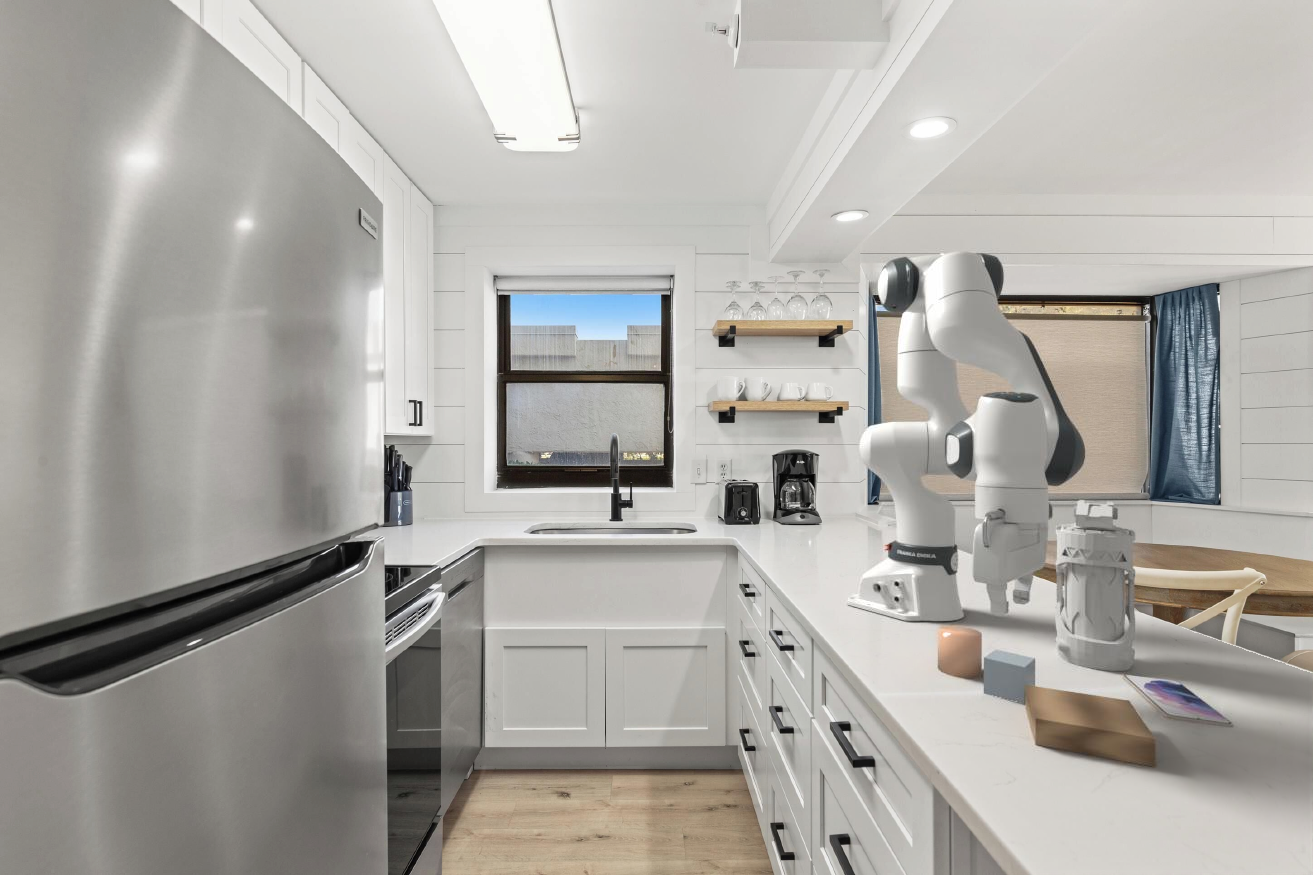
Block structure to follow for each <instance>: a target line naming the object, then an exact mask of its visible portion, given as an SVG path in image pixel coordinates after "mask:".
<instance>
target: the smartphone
mask: <svg viewBox="0 0 1313 875" xmlns="http://www.w3.org/2000/svg"><path fill="white" fill-rule="evenodd" d="M1122 679H1123V680H1124V681H1125V682H1126V683H1127V684H1128V685H1129V686H1131V688H1132V689H1134V690H1135V691H1136V692H1137V693H1138V694H1139V695H1140V696H1141V697H1142V698H1143V699H1145V700H1146V701H1147V702H1148V703H1149V704H1150V706H1152V707H1153V708H1154V709H1155V710H1156V711H1157V712H1159V714H1160V715H1161V716H1163V717H1164V718H1166V719H1168V720H1171V719H1172V720H1171V721H1180V722H1187V723H1193V724H1194V723H1196V724H1202V725H1203V724H1204V725H1211V726H1218V727H1227V728H1233V727H1234V724H1233V722H1231V721H1230V720H1229V719H1228V718H1226V717H1225V716H1224V715H1222V714H1221V713H1220V712H1218V710H1216V709H1214V708H1213V707H1212V706H1211V705H1210V704H1209V703H1207V702H1206V701H1204V699H1202V698H1201V697H1199V696H1198V695H1197V694H1195V693H1194V692H1193V691H1192V690H1190V689H1189V688H1187V687H1186V686H1185V685H1184V684H1182V683H1181V682H1180V681H1178V680H1171V679H1167V678H1166V679H1165V678H1164V679H1163V678H1156V677H1149V676H1140V675H1132V674H1123V675H1122Z"/></svg>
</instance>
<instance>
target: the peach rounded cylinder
mask: <svg viewBox="0 0 1313 875" xmlns="http://www.w3.org/2000/svg"><path fill="white" fill-rule="evenodd" d="M982 645H983V634H982V632H981V631H979V630H977V629H974V628H971V627H968V626H967V627H966V626H961V625H940V626H939V627H938V628H937V669H938V671H939V672H941V673H943V674H945V675H948V676H951V677H956V678H961V679H962V678H963V679H977V678H980V677H982V674H983V671H982V669H983V661H982V660H983V650H982V649H983V648H982V647H983V646H982Z"/></svg>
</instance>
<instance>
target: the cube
mask: <svg viewBox="0 0 1313 875" xmlns="http://www.w3.org/2000/svg"><path fill="white" fill-rule="evenodd" d="M1025 685H1030V686H1036V658H1035V657H1030V656H1027V655H1022V654H1018V653H1012V652H1008V651H1006V650H1005V651H1004V650H1000V649H994V650H993V651H991V652H990V653H988V654H987V655H986V656H984V657H983V694H984V695H988V696H992V695H993V696H992V697H995V696H997V697H996V698H999V697H1001V698H1000V699H1003V698H1005V699H1004V700H1006V699H1008V701H1010V700H1013V701H1017V702H1020V703H1019V704H1021V703H1024V704H1023V705H1025ZM1013 701H1012V702H1013ZM1017 702H1016V703H1017Z"/></svg>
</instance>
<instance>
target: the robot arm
mask: <svg viewBox="0 0 1313 875" xmlns="http://www.w3.org/2000/svg"><path fill="white" fill-rule="evenodd" d="M1004 279H1005V273H1004V267H1003V265H1002V262H1001V261H1000V260H999V258H998V257H997V256H996V255H992V254H988V253H983V252H981V253H980V252H976V253H972V252H970V251H963V250H958V251H952V252H951V251H950V252H945V253H944V252H941V253H939V254H928V255H919V256H914V257H907V256H903V257H897V258H894V259H892V260H889V261H888V262H887V263H886V264H885V265H884V266H883V268H882V270H881V273H880V275H879V278H878V281H877V293H878V297H879V300H880V304H881V306H882V307H883V308H884V309H885V310H886V311H887V312H889V313H895V314H902V316H901V320H900V325H899V330H898V339H897V368H896V369H897V372H896V375H897V376H896V377H897V381H896V383H897V390H898V392H899V395H900V396H901V397H903V398H904V399H906V400H907V401H909V402H910V403H912V404H915V405H917V406H919V407H921V408H924V409H925V410H927V412H928V414H929V419H928V420H926V421H890V422H884V423H883V422H882V423H877V424H874V425H873V424H872V425H869V426H868V427H867V428H866V430H865V431H864V432H863V433H862V436H861V438H860V439H859V440H860V441H859V446H858V447H859V450H858V451H859V456H860V458H861V461H862V463H863V464H864V465H865V467H866V468H867V469H868V470H870V471H871V472H872V473H874V474H875V475H876V476H877V477H878V478H879V479H880V480H881V481H882V482H883V484H885V486H886V488H887V490H888V491H889V493H890V495H891V497H892V498H891V499H892V501H893V506H894V512H895V526H896V527H895V529H896V532H895V533H896V539H895V540H894V541H891V542H889V543H888V544H885V545H884V547H885V548H884V551H887V553H888V554H887V557H886V558H884V559H883V560H882V561H880V562H879V563H877V564H876V565H874V566H872V567H871V568H870V569H869V570H867V571H865V572H864V573H863V574H862V575H861V578H860V582H859V584H858V589H857V591H858V592H856V593H853V594H852V595H849V596H848V598H847V599H846V603H847V606H851V607H855V608H858V609H861V610H865V611H869V612H873V613H876V614H880V615H883V616H887V617H891V618H895V619H898V620H901V621H905V622H906V621H907V622H919V621H920V622H921V621H926V622H930V621H931V622H948V621H949V622H950V621H958V620H961V619H962V618H964V617H965V614H964V611H963V608H962V603H961V599H960V594H959V587H958V580H957V573H958V568H959V553H958V552H959V551H958V545H957V544H956V509H955V507H954V505H953V503H952V502H951V500H948V499H947V498H946V497H945V496H942V495H941V494H939V493H937V492H935V491H933V490H931V489H928V488H927V487H925V485H924V484H923V482H922V477H924V476H956V477H958V478H959V479H961V480H962V479H963V480H967V481H972V482H975V484H974V518H975V519H976V520H979V521H982V522H981V523H978V524H977V525H976V527H975V529H974V533H973V543H972V555H971V556H972V558H971V559H972V560H971V574H972V577H973V580H974V582H976V583H980V584H986V585H985V586H986V587H985V588H986V592H987V594H988V595H987V596H988V598H989V601H990V602H989V603H990V609H989V610H990V613H991V614H992V615H994V616H999V617H1004V616H1006V615H1008V613H1009V612H1010V611H1009V609H1010V608H1009V607H1010V606H1009V605H1010V604H1009V603H1010V602H1009V601H1007V600H1008V599H1007V590H1008V583H1010V582H1013V581H1014V587H1013V588H1014V589H1013V590H1012V601H1013V603H1014V604H1017V605H1018V604H1019V605H1024V606H1025V605H1027V604H1029V603H1030V600H1031V597H1030V596H1031V588H1032V586H1033V585H1032V584H1033V579H1034V572H1036V571H1039V570H1041V569H1043V568H1044V566H1045V563H1046V559H1047V553H1048V540H1049V520H1052V519H1053V515H1054V508H1053V505H1052V503H1051V502H1050V500H1049V486H1050V487H1052V486H1053V487H1059V486H1061V485H1063V484H1065V483H1066V482H1067V481H1069V480H1070V479H1072V478H1073V477H1074V476H1076V474H1077V473H1078V472H1079V471H1080V470H1081V469H1082V467H1083V466H1084V464H1085V459H1086V447H1085V443H1084V440H1083V437H1082V435H1081V433H1080V432H1079V430H1078V428H1077V427H1076V426H1075V425H1074V423H1073V421H1072V420H1071V419H1070V417H1069V415H1068V413H1067V412H1066V411H1065V408H1064V407H1063V404H1062V403H1061V400H1060V398H1059V396H1058V393H1057V391H1056V389H1055V386H1054V384H1053V382H1052V380H1051V378H1050V376H1049V374H1048V372H1047V369H1046V367H1045V365H1044V362H1043V361H1042V359H1041V357H1040V354H1039V353H1038V351H1037V349H1036V347H1035V345H1034V343H1033V342H1032V340H1031V338H1030V337H1029V336H1028V335H1027V334H1025V333H1024V332H1022V331H1020V330H1018V329H1017V327H1015V326H1013V324H1012V323H1011V322H1010V321H1009V320H1008V319H1007V317H1006V316H1005V314H1004V313H1003V312H1002V310H1001V307H1000V306H999V305H1000V304H999V302H998V300H999V298H1000V296H1001V294H1002V291H1003V286H1004V281H1005V280H1004ZM957 363H960V364H964V365H969V366H973V367H975V368H980V369H982V370H985V371H988V372H990V373H993V374H995V375H997V376H998V377H1001V378H1003V379H1004V380H1006V382H1007V383H1008V384H1009V385H1010V387H1011V388H1012V390H1013V391H996V392H988V393H985V394H983V395H981V396H980V397H979V399H978V402H977V407H976V411H975V412H974V413H973V414H972V413H971V412H970V410H968V408H967V406H965V404H964V402H963V399H962V398H961V395H960V391H959V384H958V375H957V374H958V373H957V372H958V371H957Z"/></svg>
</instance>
